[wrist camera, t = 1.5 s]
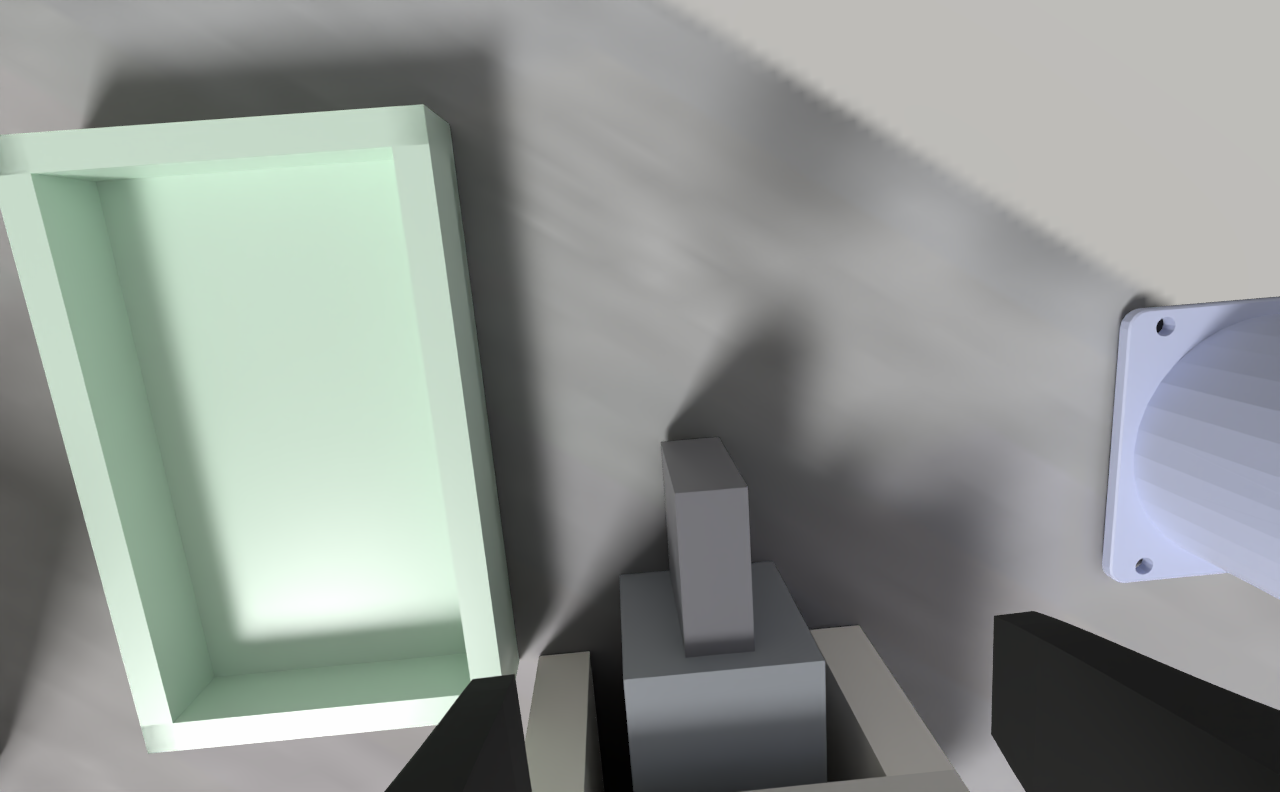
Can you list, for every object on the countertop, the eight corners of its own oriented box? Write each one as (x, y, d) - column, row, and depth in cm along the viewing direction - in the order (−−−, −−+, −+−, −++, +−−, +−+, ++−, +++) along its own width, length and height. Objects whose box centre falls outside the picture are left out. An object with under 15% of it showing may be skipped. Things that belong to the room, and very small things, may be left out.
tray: (449, 125, 17) (423, 104, 15) (519, 661, 20) (507, 718, 18) (72, 152, 17) (-19, 136, 14) (204, 691, 20) (148, 753, 18)
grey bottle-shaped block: (767, 428, 19) (822, 490, 14) (779, 763, 22) (829, 915, 17) (607, 442, 19) (607, 510, 14) (637, 777, 21) (646, 934, 17)
